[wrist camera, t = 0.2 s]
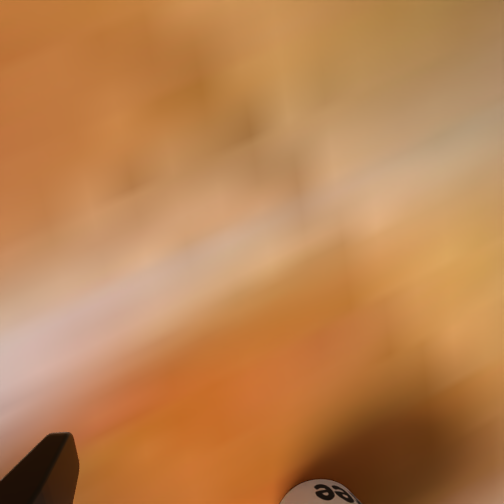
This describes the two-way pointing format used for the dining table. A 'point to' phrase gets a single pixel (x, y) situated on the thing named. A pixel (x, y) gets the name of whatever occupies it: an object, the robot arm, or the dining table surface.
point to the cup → (320, 493)
